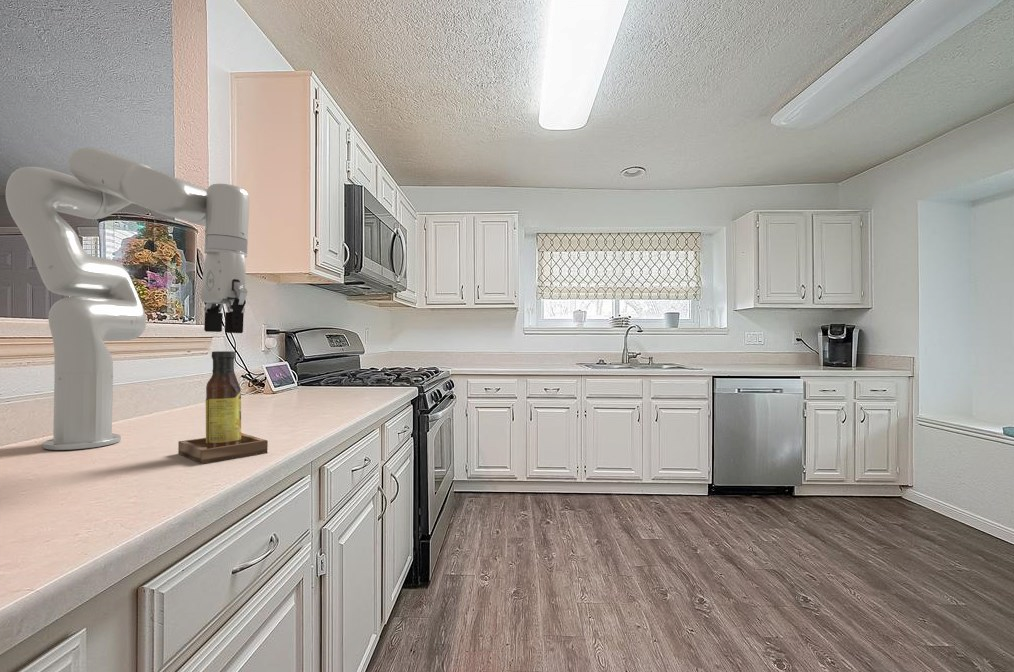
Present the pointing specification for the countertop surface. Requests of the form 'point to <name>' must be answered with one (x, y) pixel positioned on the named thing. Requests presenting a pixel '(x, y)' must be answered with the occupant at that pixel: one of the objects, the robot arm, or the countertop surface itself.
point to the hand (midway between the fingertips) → (223, 332)
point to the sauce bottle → (223, 402)
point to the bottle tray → (222, 449)
